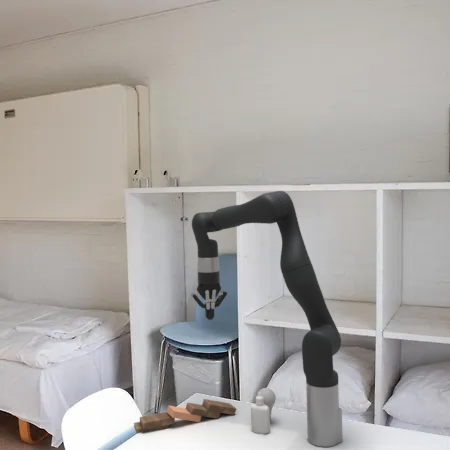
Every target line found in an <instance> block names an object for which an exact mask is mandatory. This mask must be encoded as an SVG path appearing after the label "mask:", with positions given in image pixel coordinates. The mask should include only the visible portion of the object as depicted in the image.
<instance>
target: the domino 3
mask: <svg viewBox="0 0 450 450" xmlns="http://www.w3.org/2000/svg"><path fill="white" fill-rule="evenodd" d="M165 412H167V413H168V414H169V415H170V416H171V417H172V418H175V419H178V420H184V421H191V422H196V423H200V422H201V420H202V416H199V415H192V414H190V413H189V412H188V411H187V410H186V407H185V408H184V407H179V406H173V405H167V408H166V411H165Z"/></svg>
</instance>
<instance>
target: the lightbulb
mask: <svg viewBox="0 0 450 450" xmlns="http://www.w3.org/2000/svg"><path fill="white" fill-rule="evenodd" d="M259 392H260V393H261V396H263V397H264V404H265V405H266V406H268V407H269V415H270V421H271V420H272V419H271V418H272V417H271V415H272V410H273V407H274V405H275V403H276V400H277V397H276V394H275V392H274V390H272V389H271V388H270V387H269V388H267V387H263V388H261V389H259V390H257V393H256V397H257V396H258V393H259ZM256 397H255V398H256Z"/></svg>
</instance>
